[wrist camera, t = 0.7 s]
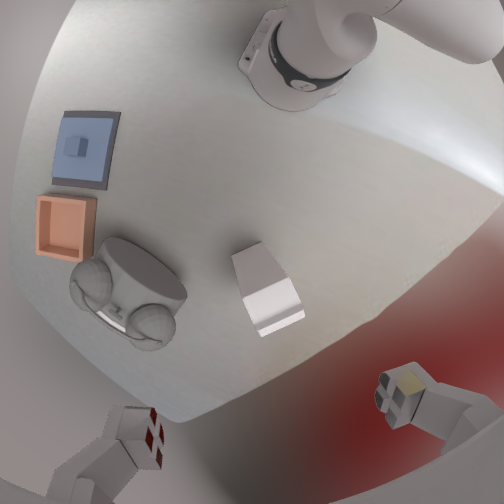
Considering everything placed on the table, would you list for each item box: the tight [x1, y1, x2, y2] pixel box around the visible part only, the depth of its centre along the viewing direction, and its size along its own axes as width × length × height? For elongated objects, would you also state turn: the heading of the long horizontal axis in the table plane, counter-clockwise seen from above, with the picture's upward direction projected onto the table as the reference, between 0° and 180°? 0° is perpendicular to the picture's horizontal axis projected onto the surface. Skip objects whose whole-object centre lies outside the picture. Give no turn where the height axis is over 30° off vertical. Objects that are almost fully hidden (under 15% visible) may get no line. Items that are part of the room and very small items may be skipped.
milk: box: [231, 242, 305, 337], centre depth 41 cm, size 6×6×22 cm
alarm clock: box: [69, 237, 187, 351], centre depth 39 cm, size 16×9×22 cm, turn 51°
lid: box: [52, 118, 115, 182], centre depth 39 cm, size 11×11×5 cm
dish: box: [36, 193, 97, 263], centre depth 43 cm, size 11×11×5 cm
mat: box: [52, 111, 121, 190], centre depth 42 cm, size 14×12×1 cm
